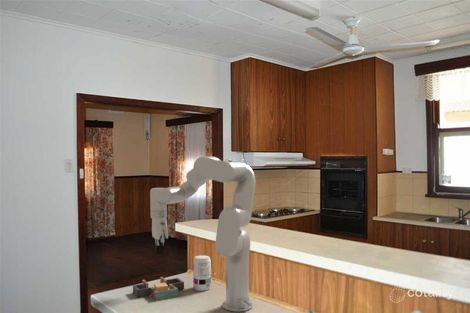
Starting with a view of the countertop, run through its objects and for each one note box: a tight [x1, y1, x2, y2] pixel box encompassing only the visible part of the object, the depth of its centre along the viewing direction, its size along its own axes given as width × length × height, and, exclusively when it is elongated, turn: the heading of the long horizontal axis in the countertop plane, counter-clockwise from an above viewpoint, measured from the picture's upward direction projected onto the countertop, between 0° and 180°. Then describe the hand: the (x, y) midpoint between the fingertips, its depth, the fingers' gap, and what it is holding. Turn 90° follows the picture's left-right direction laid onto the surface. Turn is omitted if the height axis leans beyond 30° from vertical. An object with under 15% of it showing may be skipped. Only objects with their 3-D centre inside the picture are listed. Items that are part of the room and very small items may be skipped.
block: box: [153, 282, 169, 292], centre depth 169 cm, size 5×5×5 cm
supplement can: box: [192, 254, 212, 292], centre depth 178 cm, size 8×8×15 cm
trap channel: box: [132, 276, 185, 302], centre depth 174 cm, size 21×22×4 cm
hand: (159, 253), depth 175 cm, fingers closed
